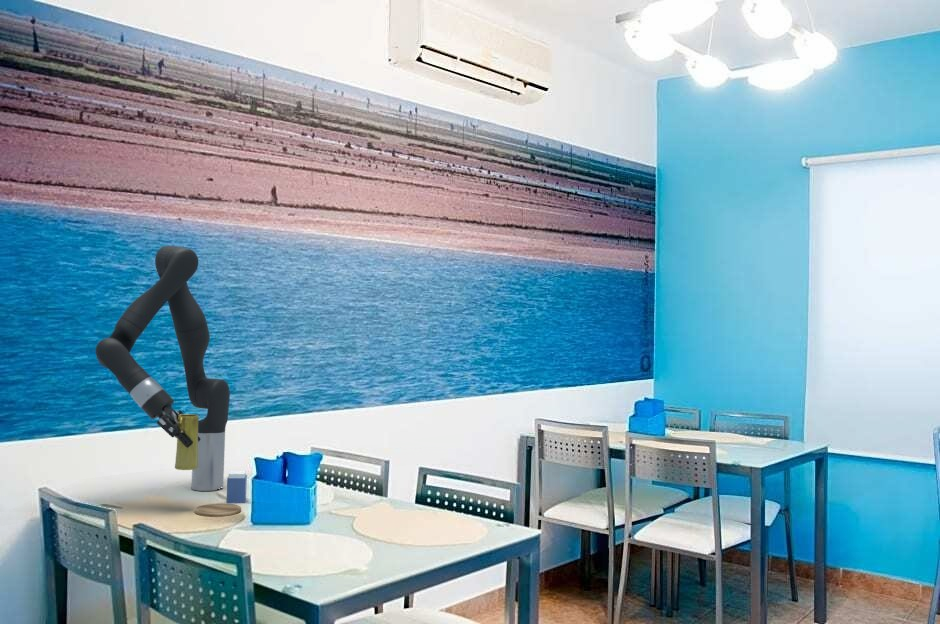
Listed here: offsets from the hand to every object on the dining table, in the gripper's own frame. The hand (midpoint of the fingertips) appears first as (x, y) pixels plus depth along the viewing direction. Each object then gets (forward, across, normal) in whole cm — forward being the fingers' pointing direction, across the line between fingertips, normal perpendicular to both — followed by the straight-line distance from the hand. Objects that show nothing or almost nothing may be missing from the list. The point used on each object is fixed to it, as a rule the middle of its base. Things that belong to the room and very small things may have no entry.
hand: (194, 443), depth 231 cm
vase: (+4, 0, +6) cm, 7 cm away
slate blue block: (+19, +12, +7) cm, 23 cm away
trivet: (+18, -1, +7) cm, 19 cm away
